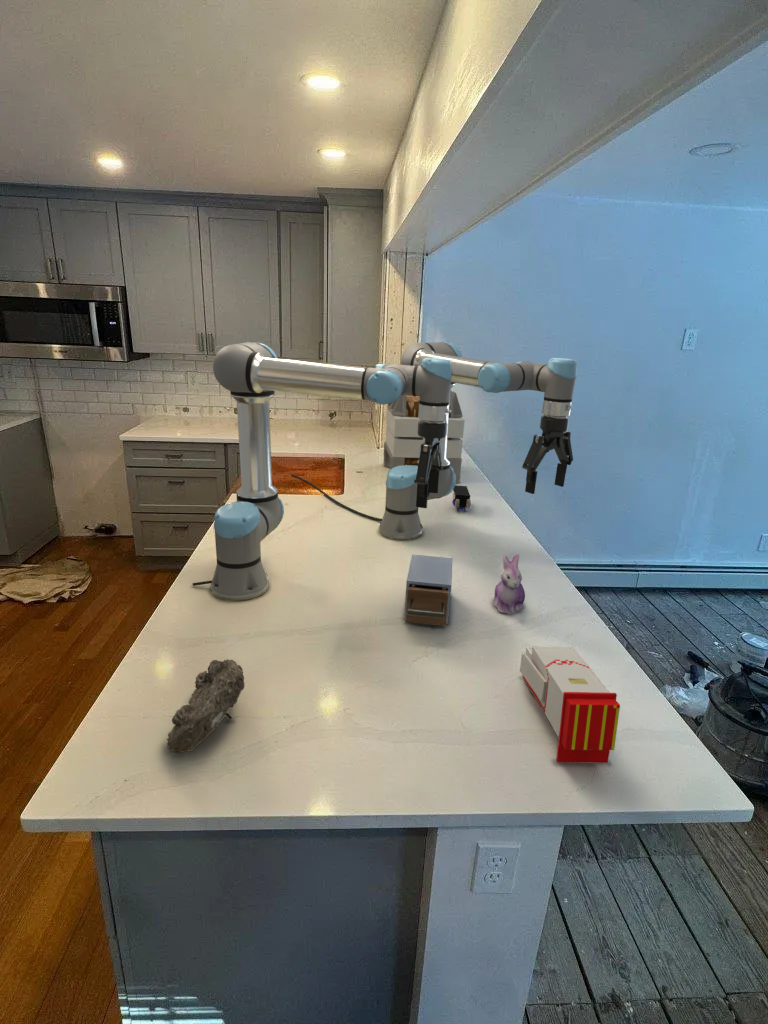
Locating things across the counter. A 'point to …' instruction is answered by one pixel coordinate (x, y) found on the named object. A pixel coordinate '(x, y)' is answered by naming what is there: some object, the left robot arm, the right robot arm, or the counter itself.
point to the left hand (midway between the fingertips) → (427, 499)
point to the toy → (572, 703)
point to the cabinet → (430, 574)
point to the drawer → (427, 605)
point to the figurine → (509, 587)
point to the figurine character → (461, 497)
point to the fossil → (206, 705)
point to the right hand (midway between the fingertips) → (544, 489)
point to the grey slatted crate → (404, 433)
